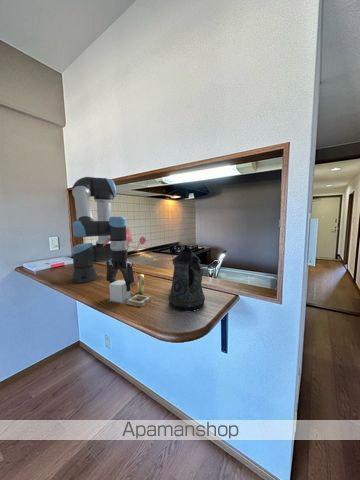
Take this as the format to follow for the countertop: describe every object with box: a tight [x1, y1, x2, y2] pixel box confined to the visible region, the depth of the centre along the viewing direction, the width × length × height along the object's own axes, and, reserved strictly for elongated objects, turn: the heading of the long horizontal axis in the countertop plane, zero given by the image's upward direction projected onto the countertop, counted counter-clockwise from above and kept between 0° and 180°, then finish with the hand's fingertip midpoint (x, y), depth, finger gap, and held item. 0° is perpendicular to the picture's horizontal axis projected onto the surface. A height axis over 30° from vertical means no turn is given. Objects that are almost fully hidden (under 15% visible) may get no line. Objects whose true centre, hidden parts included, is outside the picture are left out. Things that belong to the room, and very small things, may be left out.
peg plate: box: [107, 295, 133, 305], centre depth 97 cm, size 9×9×5 cm
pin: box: [136, 273, 145, 295], centre depth 104 cm, size 4×4×10 cm
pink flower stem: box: [103, 227, 148, 283], centre depth 116 cm, size 15×26×35 cm, turn 141°
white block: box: [108, 279, 132, 302], centre depth 96 cm, size 7×7×8 cm
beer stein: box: [167, 249, 206, 312], centre depth 89 cm, size 16×19×25 cm
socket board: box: [126, 293, 152, 307], centre depth 93 cm, size 8×8×2 cm
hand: (120, 296), depth 97 cm, fingers closed on white block, 7 cm apart
